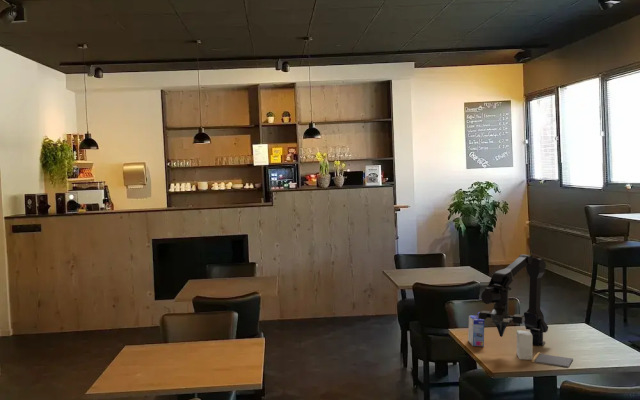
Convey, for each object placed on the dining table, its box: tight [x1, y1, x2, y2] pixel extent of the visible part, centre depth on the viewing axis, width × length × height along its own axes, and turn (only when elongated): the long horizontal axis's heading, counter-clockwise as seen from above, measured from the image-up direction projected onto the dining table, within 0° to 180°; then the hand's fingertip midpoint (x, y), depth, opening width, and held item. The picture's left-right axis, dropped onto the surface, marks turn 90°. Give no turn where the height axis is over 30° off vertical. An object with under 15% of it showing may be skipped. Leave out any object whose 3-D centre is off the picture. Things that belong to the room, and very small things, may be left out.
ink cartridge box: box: [467, 311, 485, 347], centre depth 276 cm, size 10×6×14 cm, turn 178°
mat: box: [531, 351, 574, 368], centre depth 249 cm, size 12×14×1 cm
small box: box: [516, 330, 534, 361], centre depth 255 cm, size 8×6×10 cm
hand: (501, 336), depth 260 cm, fingers closed
